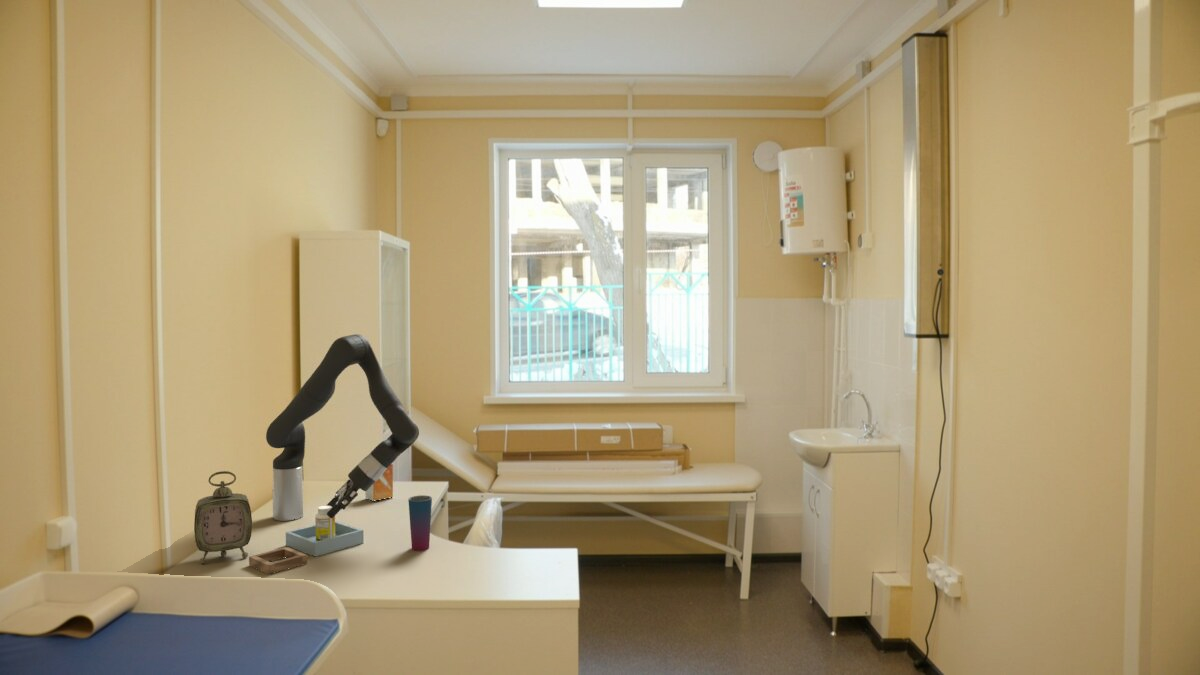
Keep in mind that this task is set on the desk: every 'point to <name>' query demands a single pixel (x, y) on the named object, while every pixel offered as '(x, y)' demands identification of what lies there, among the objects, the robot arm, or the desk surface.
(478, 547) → the desk surface
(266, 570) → the holder
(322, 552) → the tray
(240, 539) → the tabletop clock
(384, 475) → the small box
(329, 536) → the supplement bottle
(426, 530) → the cup
